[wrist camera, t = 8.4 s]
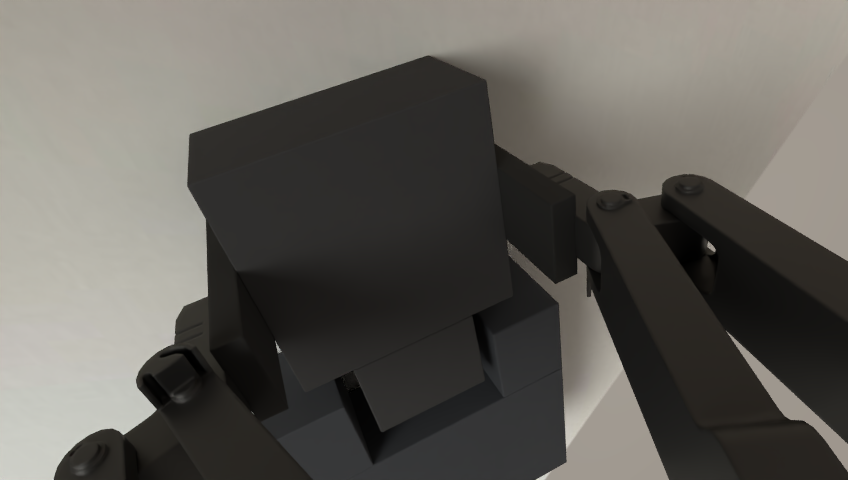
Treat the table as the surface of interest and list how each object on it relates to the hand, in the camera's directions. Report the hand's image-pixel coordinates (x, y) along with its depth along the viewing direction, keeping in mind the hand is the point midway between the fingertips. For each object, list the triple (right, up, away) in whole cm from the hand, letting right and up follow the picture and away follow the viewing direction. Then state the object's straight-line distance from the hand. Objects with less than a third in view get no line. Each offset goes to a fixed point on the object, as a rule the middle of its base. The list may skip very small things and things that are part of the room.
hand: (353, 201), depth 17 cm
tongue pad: (0, -1, +1) cm, 2 cm away
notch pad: (+2, -9, +7) cm, 11 cm away
